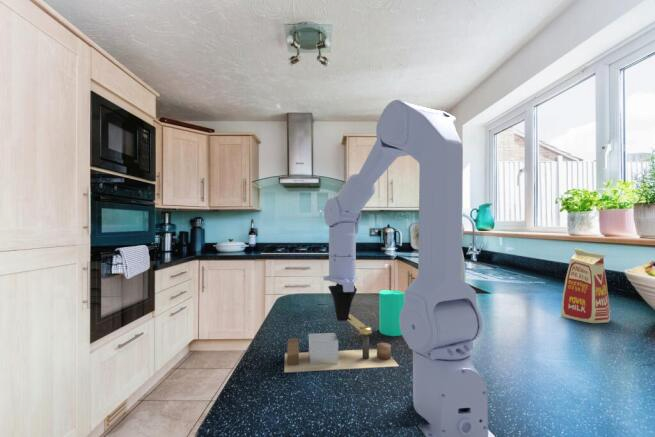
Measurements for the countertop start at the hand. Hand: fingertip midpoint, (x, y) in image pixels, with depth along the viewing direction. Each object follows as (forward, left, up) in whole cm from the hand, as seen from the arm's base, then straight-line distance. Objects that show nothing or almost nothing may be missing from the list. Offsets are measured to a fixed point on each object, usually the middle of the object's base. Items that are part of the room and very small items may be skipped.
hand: (342, 320), depth 64 cm
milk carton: (+14, -74, -6) cm, 76 cm away
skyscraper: (+11, -31, -6) cm, 34 cm away
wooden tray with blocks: (-8, +2, -6) cm, 10 cm away
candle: (+6, -13, -6) cm, 16 cm away
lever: (-3, -2, 0) cm, 4 cm away
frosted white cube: (-8, +5, -5) cm, 11 cm away
